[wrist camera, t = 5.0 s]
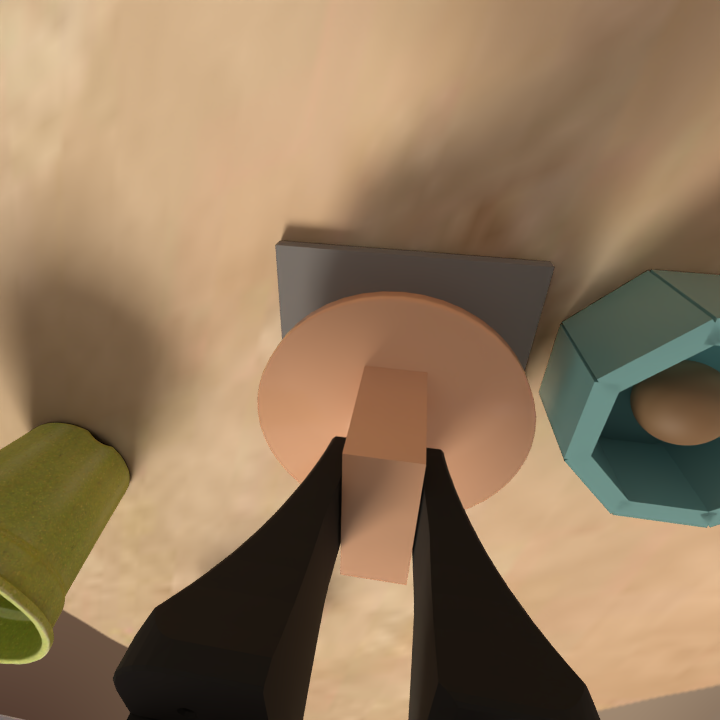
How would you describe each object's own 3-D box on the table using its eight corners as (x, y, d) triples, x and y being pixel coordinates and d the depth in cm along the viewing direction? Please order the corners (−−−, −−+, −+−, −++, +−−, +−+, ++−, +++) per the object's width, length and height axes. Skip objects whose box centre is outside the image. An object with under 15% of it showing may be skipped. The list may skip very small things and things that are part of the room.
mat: (550, 261, 15) (554, 267, 14) (493, 463, 20) (495, 472, 20) (280, 240, 16) (275, 244, 16) (293, 437, 21) (289, 445, 21)
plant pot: (128, 399, 22) (-29, 549, 14) (178, 520, 26) (80, 678, 19) (-25, 392, 23) (-239, 524, 16) (49, 507, 28) (-89, 650, 20)
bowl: (828, 283, 14) (955, 339, 11) (714, 457, 18) (779, 537, 15) (579, 263, 15) (623, 309, 11) (525, 434, 19) (545, 505, 16)
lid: (566, 306, 12) (634, 405, 8) (498, 518, 17) (519, 645, 13) (252, 278, 13) (174, 355, 9) (274, 486, 18) (230, 595, 14)
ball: (722, 348, 15) (781, 397, 12) (685, 414, 17) (731, 469, 14) (634, 340, 15) (674, 386, 13) (606, 405, 17) (637, 457, 14)
